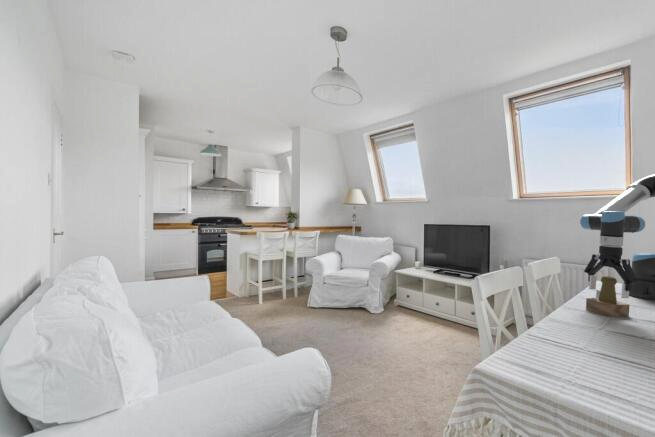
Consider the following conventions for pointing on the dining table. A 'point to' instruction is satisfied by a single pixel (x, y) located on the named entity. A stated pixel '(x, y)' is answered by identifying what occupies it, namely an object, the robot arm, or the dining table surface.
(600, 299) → the cork
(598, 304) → the walnut block
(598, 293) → the slate block
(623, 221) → the robot arm
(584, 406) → the dining table surface
